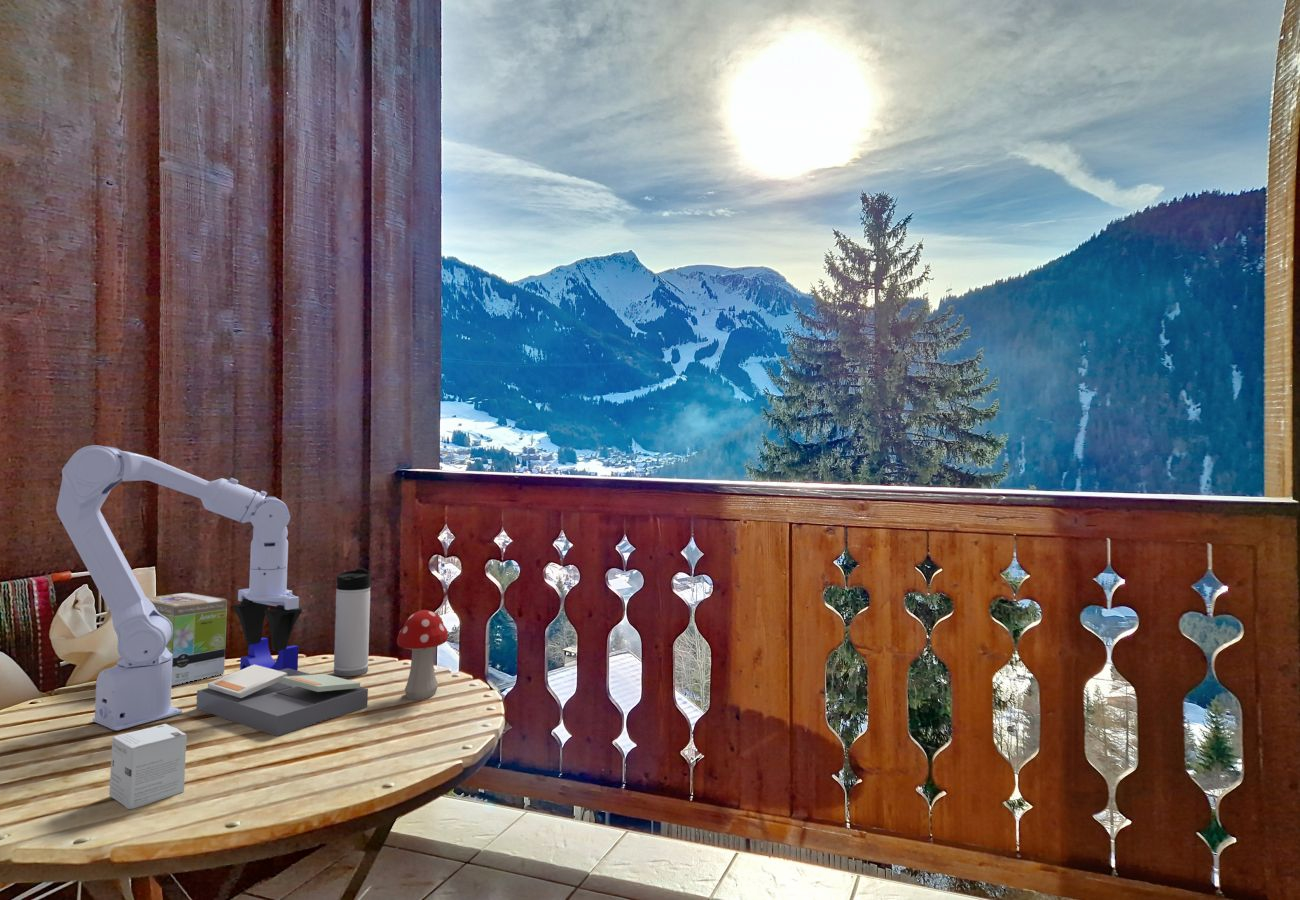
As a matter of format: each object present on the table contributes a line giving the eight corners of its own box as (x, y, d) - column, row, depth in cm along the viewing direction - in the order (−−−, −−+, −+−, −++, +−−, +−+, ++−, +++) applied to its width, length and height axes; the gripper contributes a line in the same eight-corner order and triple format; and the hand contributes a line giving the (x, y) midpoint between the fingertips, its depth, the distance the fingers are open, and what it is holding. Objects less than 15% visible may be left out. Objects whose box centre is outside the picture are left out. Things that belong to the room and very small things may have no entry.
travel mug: (374, 668, 143) (377, 569, 143) (357, 677, 136) (361, 573, 137) (345, 666, 143) (348, 568, 144) (327, 676, 137) (330, 572, 137)
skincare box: (108, 797, 86) (110, 736, 86) (164, 779, 91) (166, 721, 91) (128, 811, 83) (131, 747, 83) (186, 792, 88) (188, 732, 88)
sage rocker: (317, 691, 113) (318, 686, 113) (281, 681, 117) (282, 676, 118) (359, 687, 119) (360, 682, 119) (323, 678, 124) (324, 673, 124)
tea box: (226, 674, 137) (229, 598, 137) (170, 688, 128) (173, 606, 128) (185, 662, 144) (188, 590, 145) (129, 674, 136) (132, 597, 136)
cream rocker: (240, 698, 113) (240, 693, 113) (208, 688, 118) (207, 683, 118) (287, 677, 120) (287, 672, 120) (254, 668, 125) (254, 663, 125)
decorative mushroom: (431, 705, 121) (433, 617, 122) (384, 701, 123) (387, 614, 123) (455, 687, 131) (457, 606, 131) (412, 684, 132) (414, 604, 133)
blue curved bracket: (240, 672, 139) (241, 641, 139) (262, 667, 142) (263, 637, 143) (274, 683, 132) (275, 651, 132) (297, 677, 136) (298, 646, 136)
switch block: (277, 736, 106) (277, 715, 106) (196, 708, 117) (197, 689, 117) (394, 697, 125) (394, 679, 125) (314, 677, 136) (315, 660, 136)
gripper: (316, 568, 122) (313, 647, 121) (266, 561, 129) (263, 636, 129) (277, 573, 116) (274, 656, 115) (227, 566, 123) (224, 644, 123)
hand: (266, 646), depth 122 cm, fingers open, 7 cm apart
